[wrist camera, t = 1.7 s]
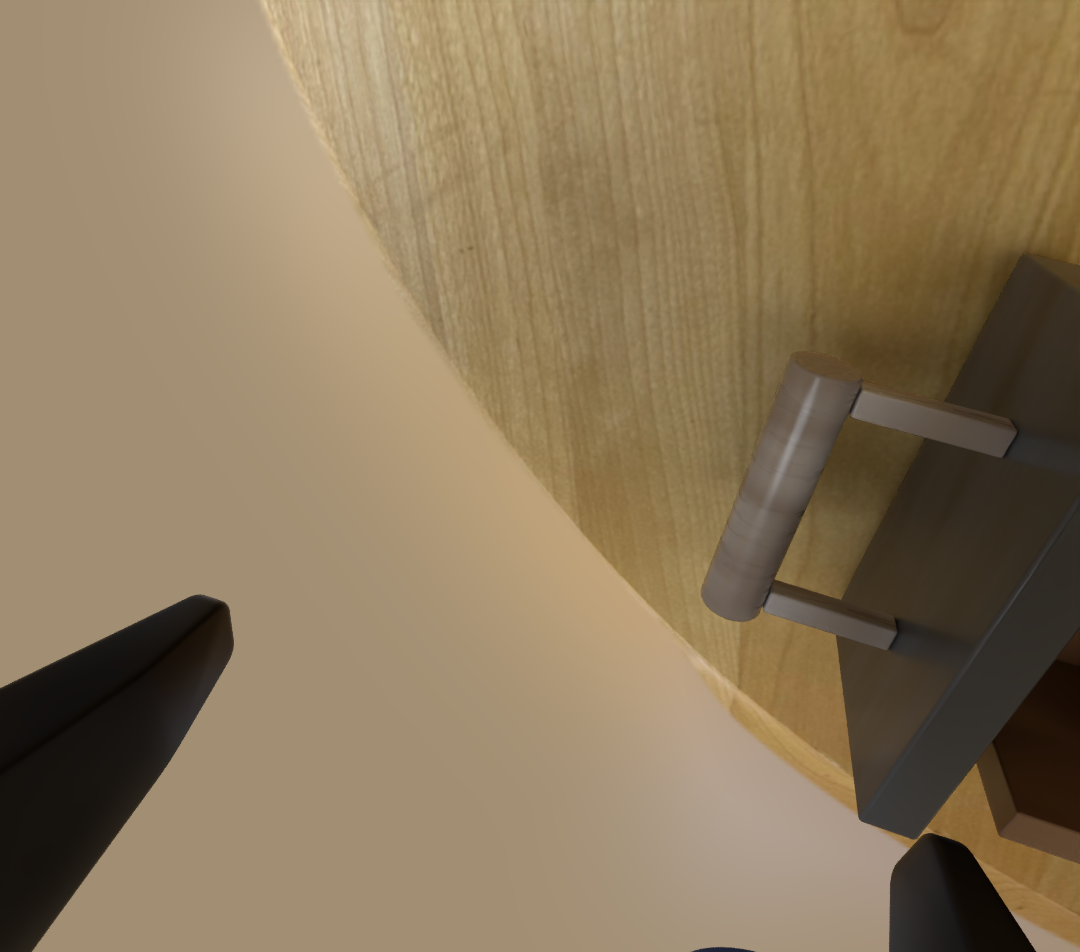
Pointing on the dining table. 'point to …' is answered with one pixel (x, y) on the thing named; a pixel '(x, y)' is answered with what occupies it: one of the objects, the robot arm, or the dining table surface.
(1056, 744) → the drawer
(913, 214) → the dining table surface
